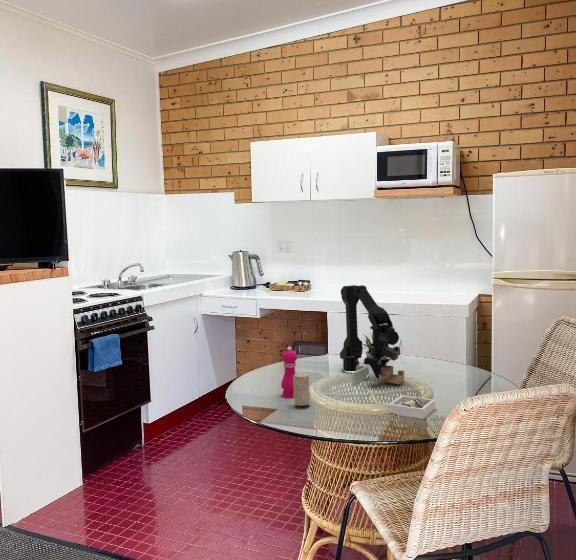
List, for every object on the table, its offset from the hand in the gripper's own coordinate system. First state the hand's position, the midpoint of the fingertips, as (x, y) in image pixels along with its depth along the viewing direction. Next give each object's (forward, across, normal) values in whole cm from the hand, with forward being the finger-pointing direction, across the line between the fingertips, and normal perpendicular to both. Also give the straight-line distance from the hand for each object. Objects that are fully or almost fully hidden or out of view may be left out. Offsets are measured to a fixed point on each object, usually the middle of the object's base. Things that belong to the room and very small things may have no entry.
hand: (379, 377), depth 261 cm
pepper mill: (+3, -32, +25) cm, 40 cm away
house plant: (+4, +32, +16) cm, 36 cm away
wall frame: (+3, +6, +8) cm, 10 cm away
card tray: (+3, -29, -25) cm, 38 cm away
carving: (+3, -40, +15) cm, 43 cm away
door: (+3, +6, +8) cm, 10 cm away
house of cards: (+4, -24, -28) cm, 37 cm away
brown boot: (+1, 0, -6) cm, 6 cm away
